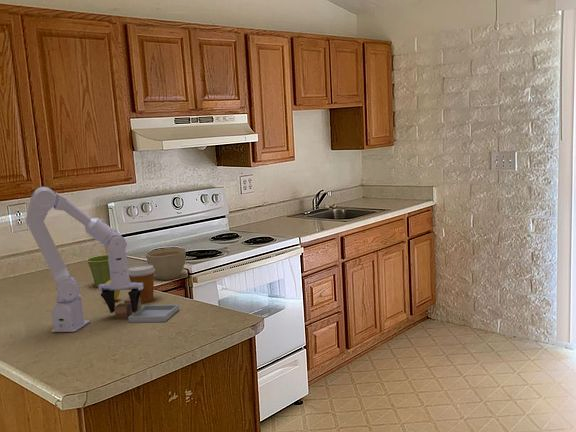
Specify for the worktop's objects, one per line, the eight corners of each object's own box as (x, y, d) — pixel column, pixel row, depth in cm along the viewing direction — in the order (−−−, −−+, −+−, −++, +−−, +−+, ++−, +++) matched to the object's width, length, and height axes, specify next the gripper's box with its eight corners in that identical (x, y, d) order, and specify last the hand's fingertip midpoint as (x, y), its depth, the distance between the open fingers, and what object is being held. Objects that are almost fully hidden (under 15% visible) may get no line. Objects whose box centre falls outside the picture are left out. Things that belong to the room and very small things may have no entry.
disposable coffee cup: (163, 297, 206) (159, 264, 205) (148, 304, 197) (145, 270, 196) (140, 296, 209) (136, 264, 208) (125, 304, 200) (121, 270, 199)
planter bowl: (140, 279, 236) (138, 253, 235) (174, 271, 247) (171, 246, 246) (162, 284, 225) (159, 257, 223) (196, 275, 236) (193, 249, 234)
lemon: (116, 303, 202) (113, 281, 201) (101, 303, 203) (99, 281, 202) (123, 298, 207) (121, 277, 206) (109, 299, 209) (107, 277, 208)
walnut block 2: (136, 312, 190) (135, 300, 190) (125, 312, 191) (124, 300, 190) (141, 308, 194) (140, 297, 193) (130, 308, 195) (129, 297, 194)
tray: (165, 322, 177) (164, 316, 176) (129, 322, 179) (128, 317, 179) (179, 310, 188) (178, 304, 188) (144, 310, 191) (144, 305, 190)
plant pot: (83, 289, 227) (79, 261, 225) (101, 281, 238) (98, 254, 236) (108, 289, 223) (105, 261, 221) (126, 281, 234) (123, 254, 233)
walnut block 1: (127, 318, 183) (125, 306, 183) (115, 319, 184) (114, 307, 183) (132, 315, 187) (131, 303, 187) (121, 315, 188) (119, 303, 187)
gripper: (145, 267, 186) (149, 307, 188) (104, 268, 189) (108, 308, 191) (136, 272, 179) (140, 314, 181) (93, 273, 182) (98, 315, 184)
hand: (123, 311), depth 185 cm, fingers open, 7 cm apart
